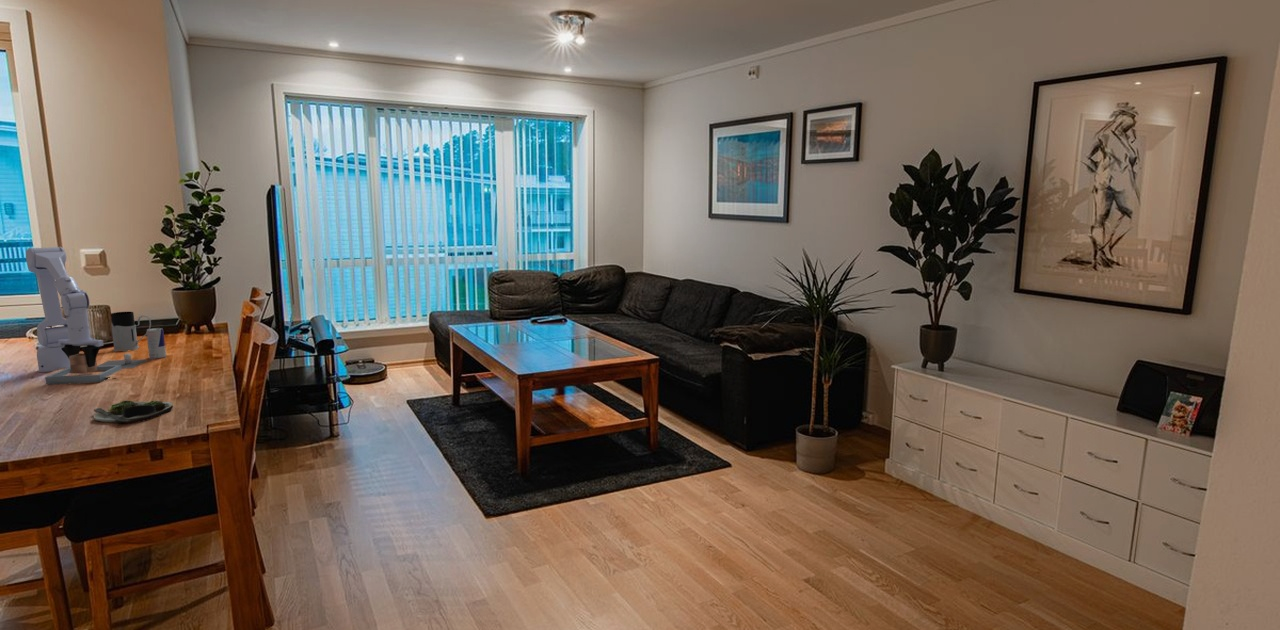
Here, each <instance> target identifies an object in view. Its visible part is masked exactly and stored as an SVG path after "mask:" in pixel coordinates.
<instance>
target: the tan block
mask: <svg viewBox="0 0 1280 630" xmlns="http://www.w3.org/2000/svg"><path fill="white" fill-rule="evenodd" d="M69 360H70V367H71V373H70V374H77V375H86V374H89V373H92V372H97V371H96V370H97V366H98V365H97V360H96V361H95V366H92V367H88V365H87V361H86V357H85V354H84V352H79V354H76V355H72V356H69Z"/></svg>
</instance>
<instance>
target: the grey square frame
mask: <svg viewBox="0 0 1280 630" xmlns="http://www.w3.org/2000/svg"><path fill="white" fill-rule="evenodd" d="M122 370H123V369H122V367H121V365H113V366H98V365H97V370H96V371H95V372H101V373H98V374H87V375H86V374H77V375H68V374H72V373H71V367H68V368H63V369H62V370H60V371H57V372H55V373H52V374H50V375H47V376H45V377H44V379H45V385H46V384H49V385H68V384H69V383H73V384H90V383H91V384H92V383H95V382H98V383H103V382H105V381H107V380H109V379H111V378H110V377H111V375H113V374H115V373H118V372H119V371H122ZM108 378H109V379H108ZM104 380H105V381H104ZM69 385H70V384H69Z"/></svg>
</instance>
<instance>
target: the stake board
mask: <svg viewBox="0 0 1280 630" xmlns="http://www.w3.org/2000/svg"><path fill="white" fill-rule="evenodd" d="M150 360H152V359H150V358H143V359H132V355H131V353H125V354H123V359H117V360H116V359H115V360H107V361H105V362H103V363H101V364H98V365H97V366H113V365H121V367H122V370H126V369H128V370H129V369H134V368H136V367H138V366H141V365H143V364H144V363H147V362H148V361H150Z"/></svg>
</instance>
